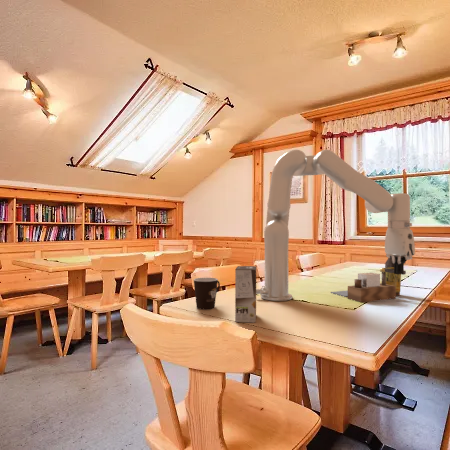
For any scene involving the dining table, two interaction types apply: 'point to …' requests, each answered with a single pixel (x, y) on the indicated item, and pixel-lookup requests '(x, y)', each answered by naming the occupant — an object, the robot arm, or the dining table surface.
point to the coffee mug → (206, 292)
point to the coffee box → (245, 294)
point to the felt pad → (341, 293)
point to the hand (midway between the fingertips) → (398, 273)
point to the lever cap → (369, 279)
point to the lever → (389, 270)
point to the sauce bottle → (393, 277)
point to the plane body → (371, 291)
